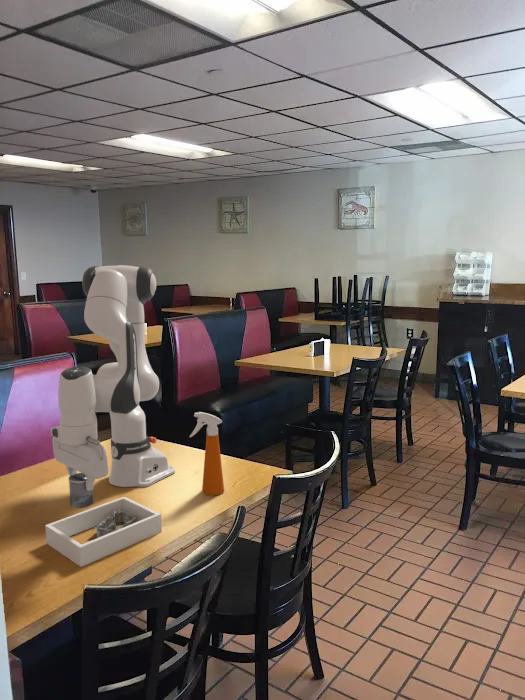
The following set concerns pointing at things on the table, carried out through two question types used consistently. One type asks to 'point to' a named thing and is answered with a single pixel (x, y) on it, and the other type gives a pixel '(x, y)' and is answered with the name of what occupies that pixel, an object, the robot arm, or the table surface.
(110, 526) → the egg carton
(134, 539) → the tote
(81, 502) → the metal tin
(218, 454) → the spray bottle
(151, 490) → the table surface
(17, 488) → the table surface
